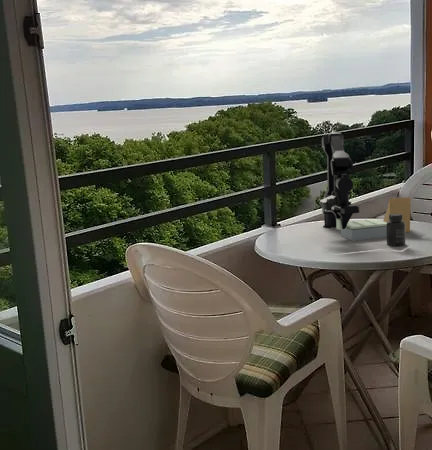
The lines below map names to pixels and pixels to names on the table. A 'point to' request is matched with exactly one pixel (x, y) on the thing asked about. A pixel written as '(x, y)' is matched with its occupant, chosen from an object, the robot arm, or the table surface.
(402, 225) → the supplement bottle
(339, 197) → the robot arm
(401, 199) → the sandwich container
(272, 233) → the table surface
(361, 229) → the tub
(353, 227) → the lid
